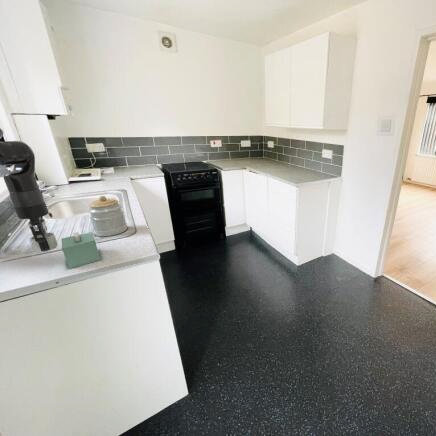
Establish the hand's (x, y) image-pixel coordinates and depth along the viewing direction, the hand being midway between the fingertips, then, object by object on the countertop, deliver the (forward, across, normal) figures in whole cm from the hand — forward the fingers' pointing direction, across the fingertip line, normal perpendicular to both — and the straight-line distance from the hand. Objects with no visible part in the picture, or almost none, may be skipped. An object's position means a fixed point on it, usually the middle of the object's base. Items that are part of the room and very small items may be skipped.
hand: (46, 247), depth 88 cm
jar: (+6, -20, +21) cm, 30 cm away
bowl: (+1, 0, 0) cm, 1 cm away
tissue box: (+6, +5, +9) cm, 12 cm away
